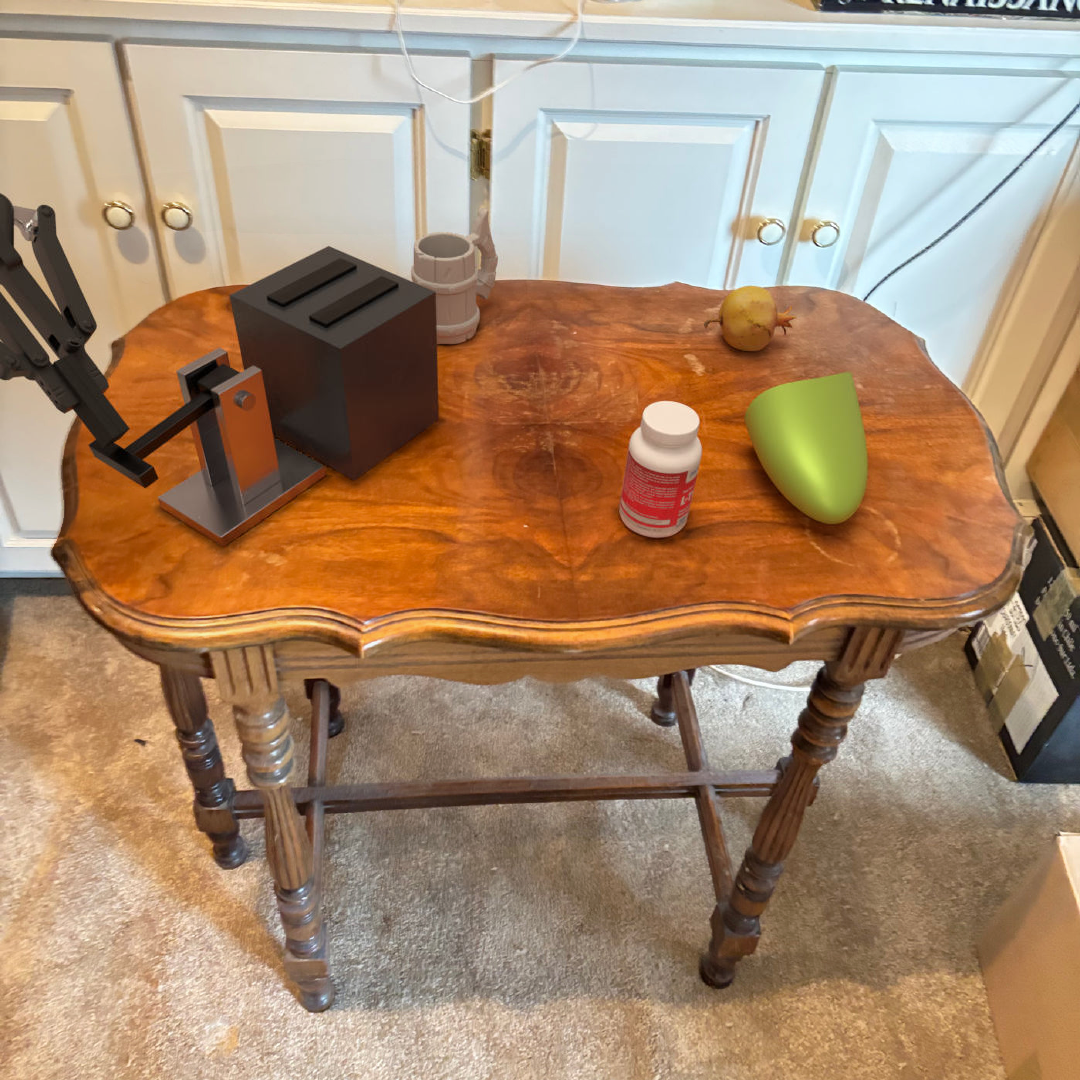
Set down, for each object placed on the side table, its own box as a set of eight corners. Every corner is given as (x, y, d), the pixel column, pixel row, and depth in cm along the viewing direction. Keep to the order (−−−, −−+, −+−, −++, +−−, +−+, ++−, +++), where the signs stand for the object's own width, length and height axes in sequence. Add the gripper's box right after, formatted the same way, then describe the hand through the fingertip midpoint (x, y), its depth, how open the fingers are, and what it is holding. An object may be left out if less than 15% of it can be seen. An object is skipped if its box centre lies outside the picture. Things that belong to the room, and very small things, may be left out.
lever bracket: (223, 547, 78) (192, 424, 69) (160, 507, 81) (122, 384, 72) (326, 475, 85) (310, 355, 77) (264, 441, 89) (242, 322, 80)
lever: (147, 494, 70) (136, 471, 68) (96, 462, 72) (84, 439, 70) (265, 404, 76) (258, 381, 74) (215, 377, 78) (206, 354, 77)
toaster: (354, 480, 85) (339, 344, 75) (254, 425, 90) (228, 290, 80) (438, 419, 92) (435, 287, 82) (342, 371, 97) (328, 241, 87)
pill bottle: (684, 545, 82) (707, 445, 74) (615, 534, 82) (630, 434, 74) (688, 499, 86) (709, 400, 78) (621, 489, 86) (637, 390, 79)
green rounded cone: (751, 330, 90) (794, 477, 77) (865, 354, 92) (927, 500, 79) (719, 392, 96) (755, 538, 82) (828, 413, 98) (879, 558, 85)
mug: (396, 327, 104) (390, 225, 96) (469, 290, 111) (470, 191, 102) (445, 355, 101) (444, 251, 92) (517, 314, 107) (522, 214, 99)
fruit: (713, 315, 99) (807, 318, 99) (707, 269, 102) (798, 272, 103) (701, 360, 105) (790, 362, 105) (696, 315, 108) (782, 317, 108)
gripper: (-205, 150, 57) (48, 470, 63) (-7, 95, 65) (203, 382, 70) (-206, 208, 63) (26, 496, 68) (-24, 150, 71) (171, 413, 76)
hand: (116, 438), depth 69 cm, fingers closed
